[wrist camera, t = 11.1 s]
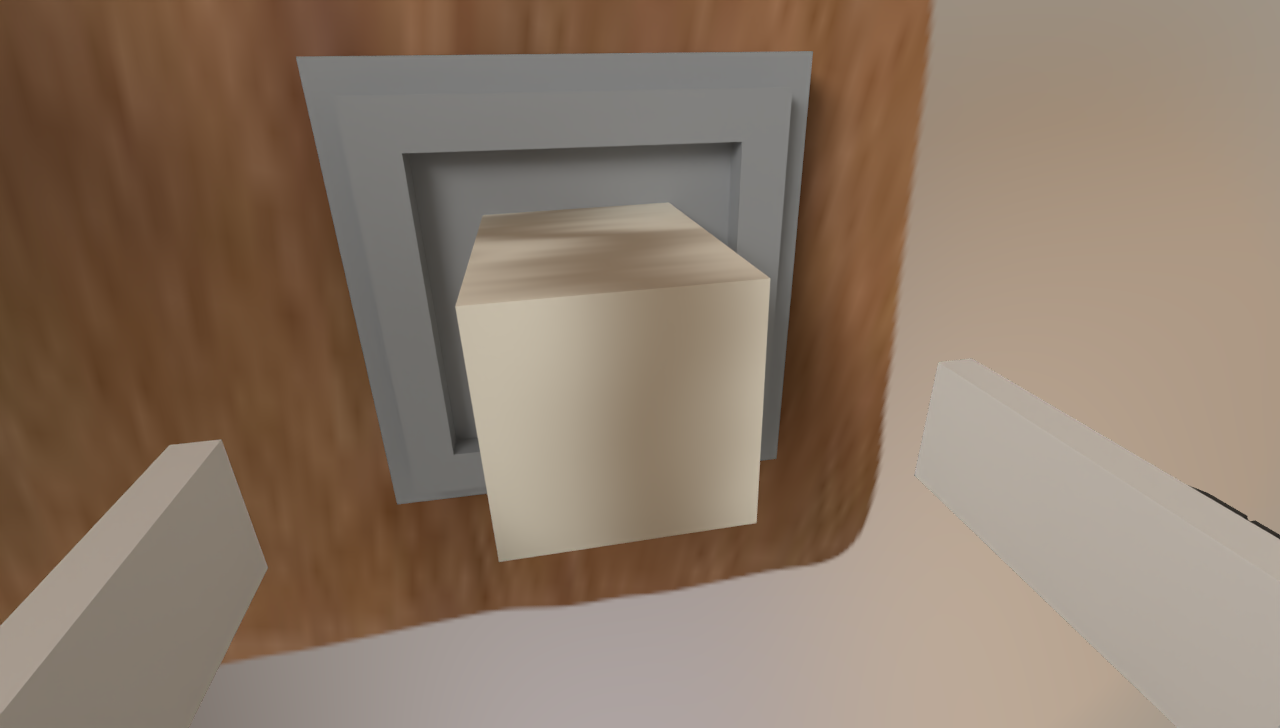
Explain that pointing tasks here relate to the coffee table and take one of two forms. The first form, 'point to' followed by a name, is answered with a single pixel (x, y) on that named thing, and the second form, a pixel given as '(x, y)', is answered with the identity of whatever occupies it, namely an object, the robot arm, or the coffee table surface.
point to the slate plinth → (536, 198)
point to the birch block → (612, 376)
